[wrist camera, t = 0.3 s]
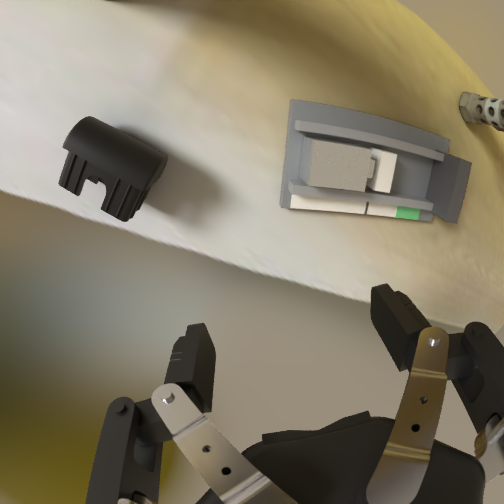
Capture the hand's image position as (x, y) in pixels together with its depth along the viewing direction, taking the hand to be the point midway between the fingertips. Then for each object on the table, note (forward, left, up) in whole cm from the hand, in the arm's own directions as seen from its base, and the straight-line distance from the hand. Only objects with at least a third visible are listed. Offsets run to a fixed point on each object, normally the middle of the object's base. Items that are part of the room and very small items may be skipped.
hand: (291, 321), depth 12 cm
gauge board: (-5, +14, -21) cm, 25 cm away
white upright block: (-5, +13, -19) cm, 24 cm away
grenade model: (-16, +30, -21) cm, 40 cm away
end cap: (-4, -15, -21) cm, 26 cm away
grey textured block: (-5, +8, -19) cm, 21 cm away
